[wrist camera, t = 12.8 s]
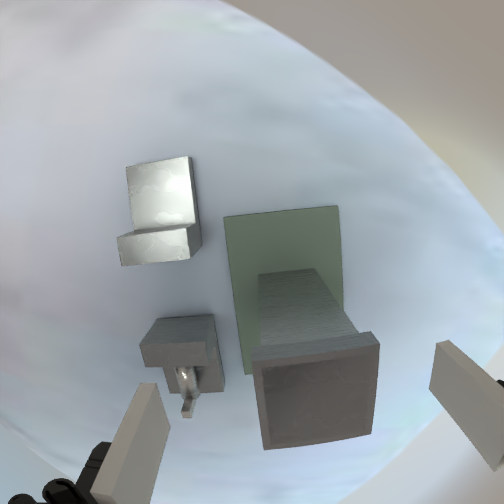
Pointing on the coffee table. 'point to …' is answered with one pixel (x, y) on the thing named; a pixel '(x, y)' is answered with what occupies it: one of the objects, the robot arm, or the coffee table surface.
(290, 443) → the bar
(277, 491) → the coffee table surface
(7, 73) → the coffee table surface
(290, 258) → the mat
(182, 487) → the coffee table surface
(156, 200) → the silver metal blocks
